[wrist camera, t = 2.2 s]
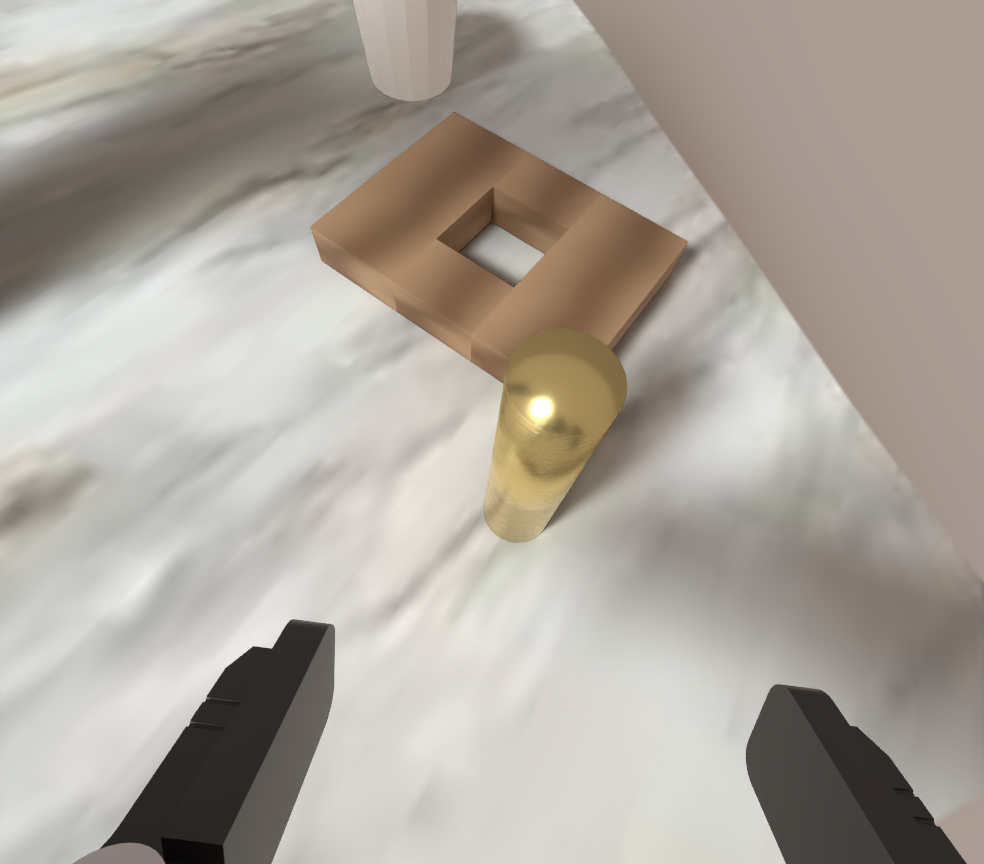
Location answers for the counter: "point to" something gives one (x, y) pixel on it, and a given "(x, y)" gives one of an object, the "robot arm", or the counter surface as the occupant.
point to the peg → (549, 426)
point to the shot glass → (408, 45)
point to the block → (515, 208)
